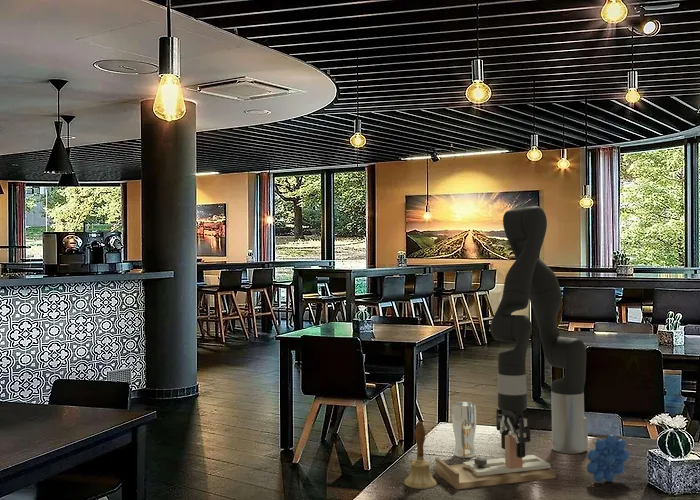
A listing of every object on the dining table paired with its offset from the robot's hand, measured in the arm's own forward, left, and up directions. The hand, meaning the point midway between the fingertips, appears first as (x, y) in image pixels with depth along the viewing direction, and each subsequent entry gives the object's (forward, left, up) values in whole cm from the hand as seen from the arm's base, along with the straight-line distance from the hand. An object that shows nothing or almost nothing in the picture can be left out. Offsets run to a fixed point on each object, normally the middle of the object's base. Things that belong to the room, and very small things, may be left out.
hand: (513, 452), depth 185 cm
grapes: (-21, +10, -7) cm, 24 cm away
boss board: (+4, -3, -6) cm, 8 cm away
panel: (0, -3, -5) cm, 6 cm away
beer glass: (+4, -22, -7) cm, 23 cm away
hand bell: (+25, -3, -7) cm, 26 cm away
